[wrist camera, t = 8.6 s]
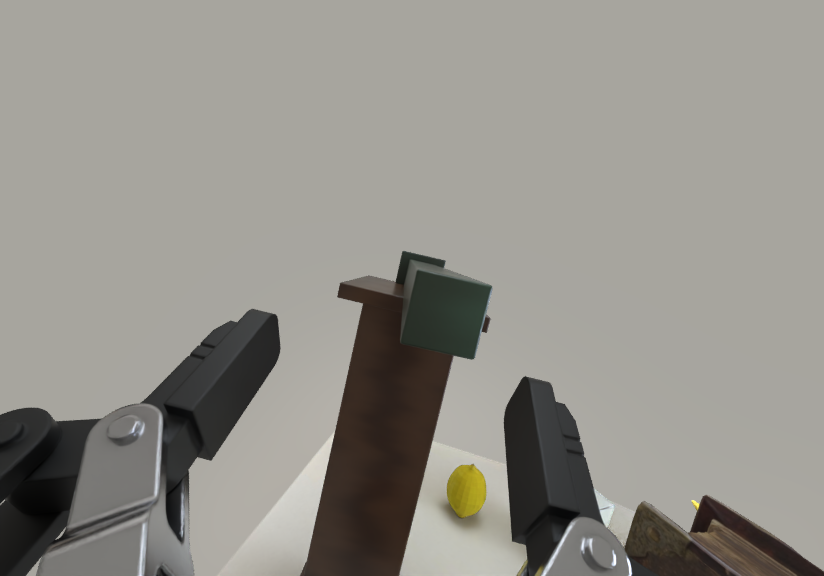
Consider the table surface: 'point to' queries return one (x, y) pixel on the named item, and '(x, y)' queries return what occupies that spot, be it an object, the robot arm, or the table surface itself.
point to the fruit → (466, 490)
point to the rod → (441, 307)
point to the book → (711, 545)
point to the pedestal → (377, 441)
